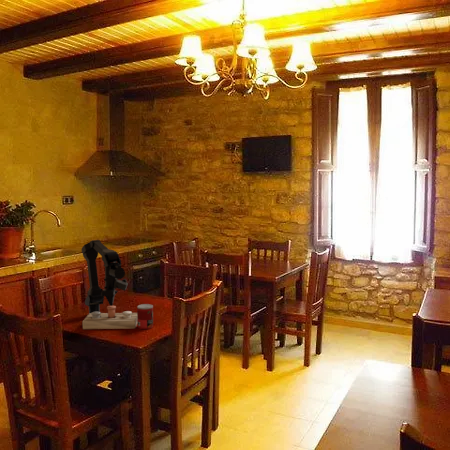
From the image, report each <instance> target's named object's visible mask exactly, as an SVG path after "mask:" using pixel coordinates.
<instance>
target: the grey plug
mask: <svg viewBox="0 0 450 450" xmlns="http://www.w3.org/2000/svg"><path fill="white" fill-rule="evenodd" d="M101 313H102V312H101V311H100V312H98V311H96V312H92V313H91V315H92V318H100V314H101Z"/></svg>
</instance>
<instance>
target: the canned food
mask: <svg viewBox="0 0 450 450" xmlns="http://www.w3.org/2000/svg"><path fill="white" fill-rule="evenodd" d="M136 307H137V308H136V310H137V312H136V313H137V321H138V323H137V328H138V329H140V330H150V329H152V328H153V327H154V305H153V304H149V303H142V304H139V305H137V306H136Z"/></svg>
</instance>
